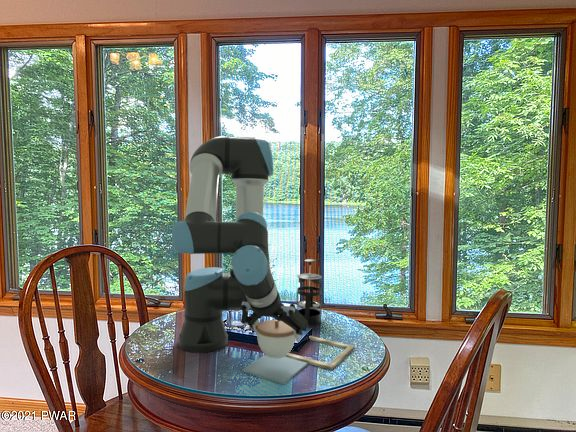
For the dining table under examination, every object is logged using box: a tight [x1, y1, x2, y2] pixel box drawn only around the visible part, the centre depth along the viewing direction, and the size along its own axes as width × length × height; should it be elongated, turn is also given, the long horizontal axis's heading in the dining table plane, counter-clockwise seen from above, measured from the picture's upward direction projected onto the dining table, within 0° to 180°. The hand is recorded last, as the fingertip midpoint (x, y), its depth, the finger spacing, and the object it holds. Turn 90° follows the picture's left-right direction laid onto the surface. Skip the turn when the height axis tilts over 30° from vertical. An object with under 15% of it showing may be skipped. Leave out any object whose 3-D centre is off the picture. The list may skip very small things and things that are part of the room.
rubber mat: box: [241, 354, 308, 385], centre depth 112 cm, size 13×13×1 cm
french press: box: [296, 258, 323, 326], centre depth 150 cm, size 12×9×23 cm
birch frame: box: [285, 335, 355, 371], centre depth 123 cm, size 17×17×1 cm
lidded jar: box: [256, 319, 296, 358], centre depth 111 cm, size 11×11×9 cm
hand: (279, 335), depth 114 cm, fingers closed on lidded jar, 11 cm apart
